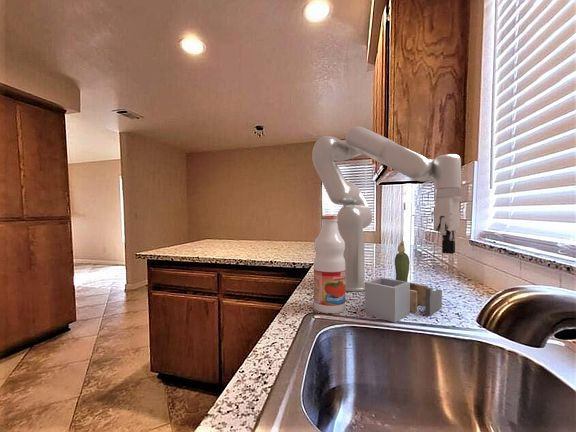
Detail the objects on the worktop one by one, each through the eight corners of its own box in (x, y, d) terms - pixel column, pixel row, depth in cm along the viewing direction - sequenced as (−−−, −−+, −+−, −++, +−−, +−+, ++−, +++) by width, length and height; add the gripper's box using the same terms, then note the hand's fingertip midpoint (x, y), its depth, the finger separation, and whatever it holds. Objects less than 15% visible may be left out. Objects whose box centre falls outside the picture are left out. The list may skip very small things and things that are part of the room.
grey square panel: (425, 315, 80) (425, 288, 80) (437, 307, 87) (437, 282, 87) (429, 316, 79) (429, 289, 79) (441, 308, 86) (441, 283, 86)
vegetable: (394, 301, 93) (395, 239, 92) (409, 302, 91) (409, 240, 91) (394, 305, 89) (394, 240, 88) (409, 307, 87) (409, 241, 87)
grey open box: (364, 313, 81) (364, 282, 81) (380, 306, 88) (380, 277, 88) (395, 322, 75) (395, 288, 75) (409, 313, 81) (409, 282, 81)
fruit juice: (327, 301, 92) (327, 215, 92) (351, 309, 85) (352, 215, 85) (307, 308, 86) (307, 215, 85) (331, 317, 79) (331, 215, 78)
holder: (380, 303, 90) (380, 284, 90) (394, 297, 97) (394, 279, 96) (415, 312, 82) (415, 291, 82) (428, 305, 89) (428, 285, 89)
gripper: (442, 196, 98) (443, 249, 98) (425, 194, 87) (427, 254, 87) (468, 194, 92) (469, 251, 92) (453, 193, 82) (454, 257, 82)
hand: (448, 253), depth 90 cm, fingers closed
